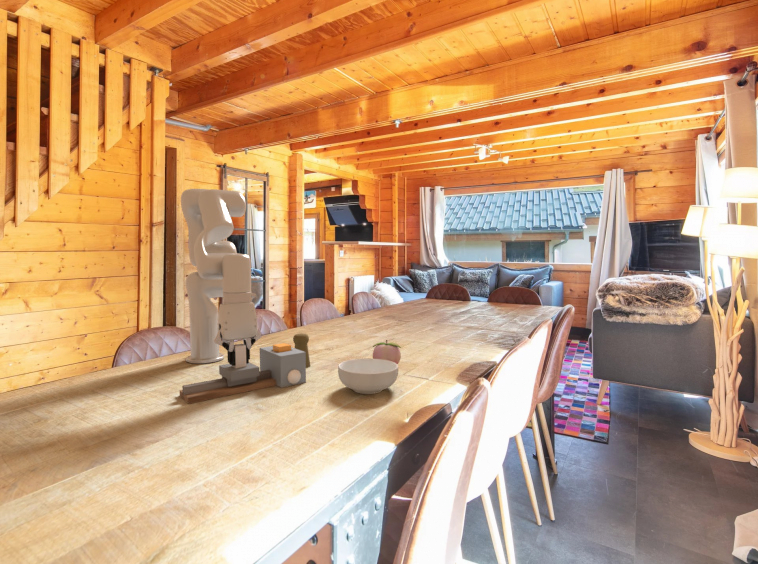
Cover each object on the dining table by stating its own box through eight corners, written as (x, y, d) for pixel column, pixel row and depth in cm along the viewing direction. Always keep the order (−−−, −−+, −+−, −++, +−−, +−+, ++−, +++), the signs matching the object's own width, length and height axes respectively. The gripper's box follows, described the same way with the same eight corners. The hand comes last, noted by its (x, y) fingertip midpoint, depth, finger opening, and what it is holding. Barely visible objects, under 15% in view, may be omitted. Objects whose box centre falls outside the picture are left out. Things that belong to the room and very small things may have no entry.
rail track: (179, 395, 114) (179, 382, 114) (264, 379, 130) (264, 367, 129) (188, 403, 108) (188, 390, 108) (276, 385, 123) (276, 373, 123)
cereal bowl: (392, 402, 110) (392, 374, 109) (330, 397, 113) (330, 371, 112) (402, 382, 126) (402, 358, 126) (347, 379, 129) (347, 356, 129)
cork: (306, 369, 141) (306, 335, 140) (289, 368, 142) (288, 335, 141) (313, 364, 147) (312, 332, 146) (296, 363, 148) (295, 331, 147)
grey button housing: (260, 376, 132) (259, 347, 131) (283, 372, 137) (283, 344, 136) (282, 388, 121) (281, 356, 120) (306, 382, 126) (306, 352, 125)
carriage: (219, 381, 122) (218, 344, 121) (246, 375, 127) (246, 340, 126) (231, 388, 115) (230, 349, 114) (259, 382, 120) (258, 345, 119)
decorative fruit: (401, 367, 143) (401, 337, 142) (400, 373, 135) (400, 342, 134) (373, 366, 144) (373, 336, 143) (370, 373, 136) (370, 341, 135)
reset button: (273, 358, 129) (272, 344, 129) (285, 355, 131) (284, 343, 131) (279, 360, 126) (278, 347, 126) (291, 358, 128) (291, 345, 128)
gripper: (260, 295, 127) (261, 356, 128) (202, 299, 117) (204, 365, 118) (270, 297, 121) (272, 361, 122) (211, 301, 111) (213, 371, 112)
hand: (239, 363), depth 120 cm, fingers closed on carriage, 3 cm apart
